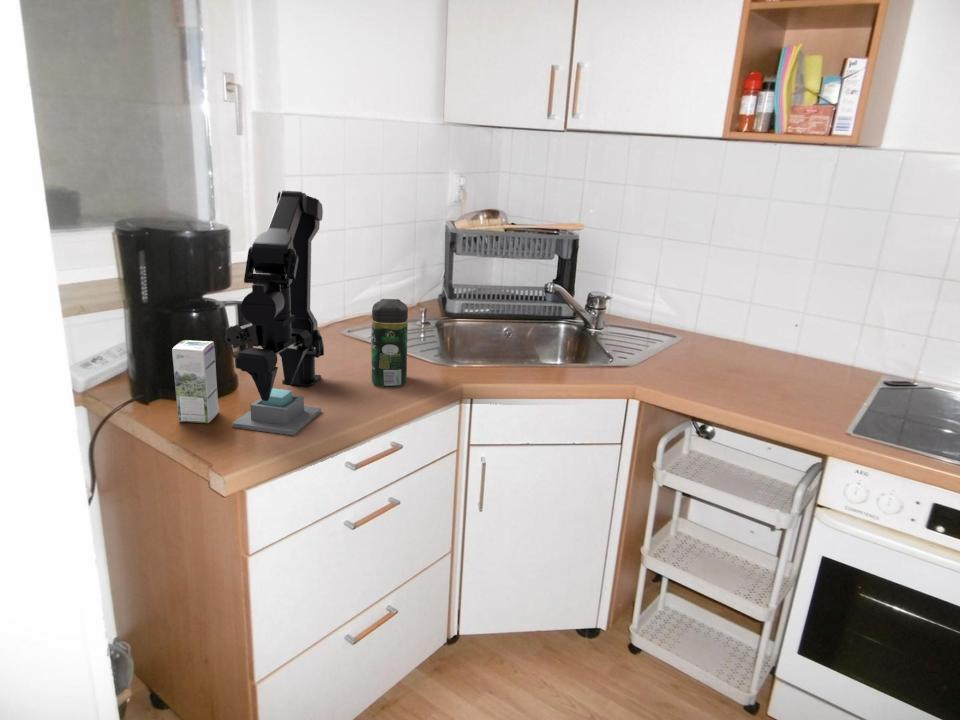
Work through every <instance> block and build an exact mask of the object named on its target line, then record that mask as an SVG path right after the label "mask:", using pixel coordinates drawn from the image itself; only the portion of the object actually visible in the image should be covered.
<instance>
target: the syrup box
mask: <svg viewBox="0 0 960 720" xmlns="http://www.w3.org/2000/svg"><path fill="white" fill-rule="evenodd" d="M171 349H172V350H171V352H172V353H171V355H172V363H173V375H174V385H175V386H174V387H175V398H176V407H177V408H176V409H177V418H178V422H179V423H193V424H194V423H195V424H197V423H198V424H209V423H210V422H211V421H213V419H215V418H216V417H217V415H218V414H219V413H220V407H219V397H218V385H217V384H218V383H217V382H218V381H217V367H216V349H215V342H214V341H208V340H204V341H203V340H191V339H190V340H188V339H184V340H181V341H179V342H178V343H177V344H176V345H174V346H173V348H171Z"/></svg>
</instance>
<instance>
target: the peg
mask: <svg viewBox="0 0 960 720" xmlns="http://www.w3.org/2000/svg"><path fill="white" fill-rule="evenodd" d="M292 395H293V390H291V389H290V390H289V389H281V388H275V387H274V388H273V387H272V391H271V394H270V397H269V400H268V401H263V400H262V405H269V406H276V407H284V408H285V407H286V406H288V405H289V404H290V403H291V402H292Z"/></svg>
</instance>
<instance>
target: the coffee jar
mask: <svg viewBox="0 0 960 720" xmlns="http://www.w3.org/2000/svg"><path fill="white" fill-rule="evenodd" d="M371 309H372V311H371V335H370V336H371V339H370V340H371V347H370V348H371V382H372V384H373V385H374V386H376V387H382V388H384V389H394V388H397V387H403V386H405V384H406V382H407V376H408V371H407V369H408V361H407V359H408V328H409V327H408V325H409V324H408V322H409V321H408V318H409V315H408V313H409V308H408V306H407V304H406V303H404V301H401V300H400V299H398V298H381V299H380V300H379V301H376V302H375V303H374V304H373V305H372V308H371Z"/></svg>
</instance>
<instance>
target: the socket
mask: <svg viewBox="0 0 960 720" xmlns="http://www.w3.org/2000/svg"><path fill="white" fill-rule="evenodd" d="M249 407H250V410H249V411H247V412H246V413H245V414H243V415H242V416H241V417H239V418H237V419H235V420H234V421H233V422H232V424H231V425H232V428H236V429H244V430H249V431H250V430H251V431H258V432H264V433H265V432H266V433H272V434H277V435H287V436H292V435H293V436H295V435H296V434H298V433H299V432H300V431H301V430H302V429H303V428H304V427H305V426H306V425H308V424H309V423H310V422H311V421H312V420H313V419H314V418H316V417H317V416H318V415H319V414H320V413H321V412H322V407H316V406H309V405H305V396H303V395H297V394H296V395H295V394H292V402H291V403H290V404H289V405H288V406H286V407H285V408H284V407H276V406H269V405H262V399H261V397H260V398H258V399H256V401H254V402H252V403H251V404H250V406H249ZM293 436H292V437H293Z"/></svg>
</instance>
